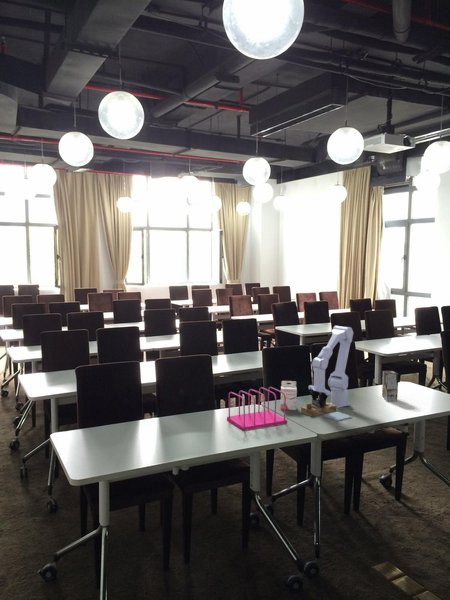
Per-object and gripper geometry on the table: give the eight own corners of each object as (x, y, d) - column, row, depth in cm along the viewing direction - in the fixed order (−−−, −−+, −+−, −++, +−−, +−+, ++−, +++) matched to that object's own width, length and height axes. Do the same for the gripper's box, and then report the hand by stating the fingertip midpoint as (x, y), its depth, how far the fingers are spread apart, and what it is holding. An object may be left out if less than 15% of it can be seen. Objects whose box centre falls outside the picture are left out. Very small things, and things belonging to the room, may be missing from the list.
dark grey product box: (320, 404, 270) (320, 396, 270) (325, 406, 267) (326, 398, 266) (311, 406, 267) (311, 397, 267) (317, 408, 263) (317, 399, 263)
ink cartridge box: (280, 409, 271) (280, 382, 269) (280, 406, 275) (280, 380, 274) (296, 410, 270) (297, 383, 268) (296, 407, 275) (296, 381, 273)
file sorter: (226, 420, 253) (226, 389, 252) (268, 413, 264) (269, 384, 263) (243, 431, 238) (243, 398, 236) (287, 423, 249) (287, 392, 247)
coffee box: (397, 401, 286) (398, 374, 285) (386, 401, 286) (387, 373, 285) (392, 397, 295) (393, 370, 294) (381, 397, 295) (382, 370, 294)
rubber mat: (337, 412, 266) (337, 411, 265) (351, 417, 257) (351, 416, 257) (323, 415, 260) (323, 414, 260) (337, 421, 252) (337, 420, 252)
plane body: (325, 407, 275) (325, 397, 275) (336, 410, 269) (336, 401, 268) (300, 412, 266) (301, 402, 265) (311, 416, 259) (311, 406, 258)
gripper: (304, 378, 270) (304, 403, 271) (323, 384, 257) (323, 410, 259) (314, 376, 273) (313, 401, 275) (333, 382, 261) (332, 407, 262)
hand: (318, 405), depth 267 cm, fingers closed on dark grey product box, 4 cm apart
